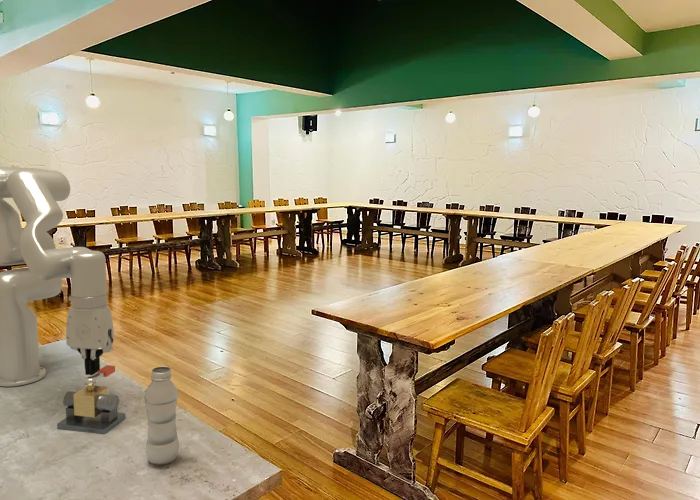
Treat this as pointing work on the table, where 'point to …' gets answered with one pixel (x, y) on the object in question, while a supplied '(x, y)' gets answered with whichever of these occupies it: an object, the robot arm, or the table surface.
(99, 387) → the valve
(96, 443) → the table surface
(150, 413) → the plastic bottle
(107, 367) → the lever
